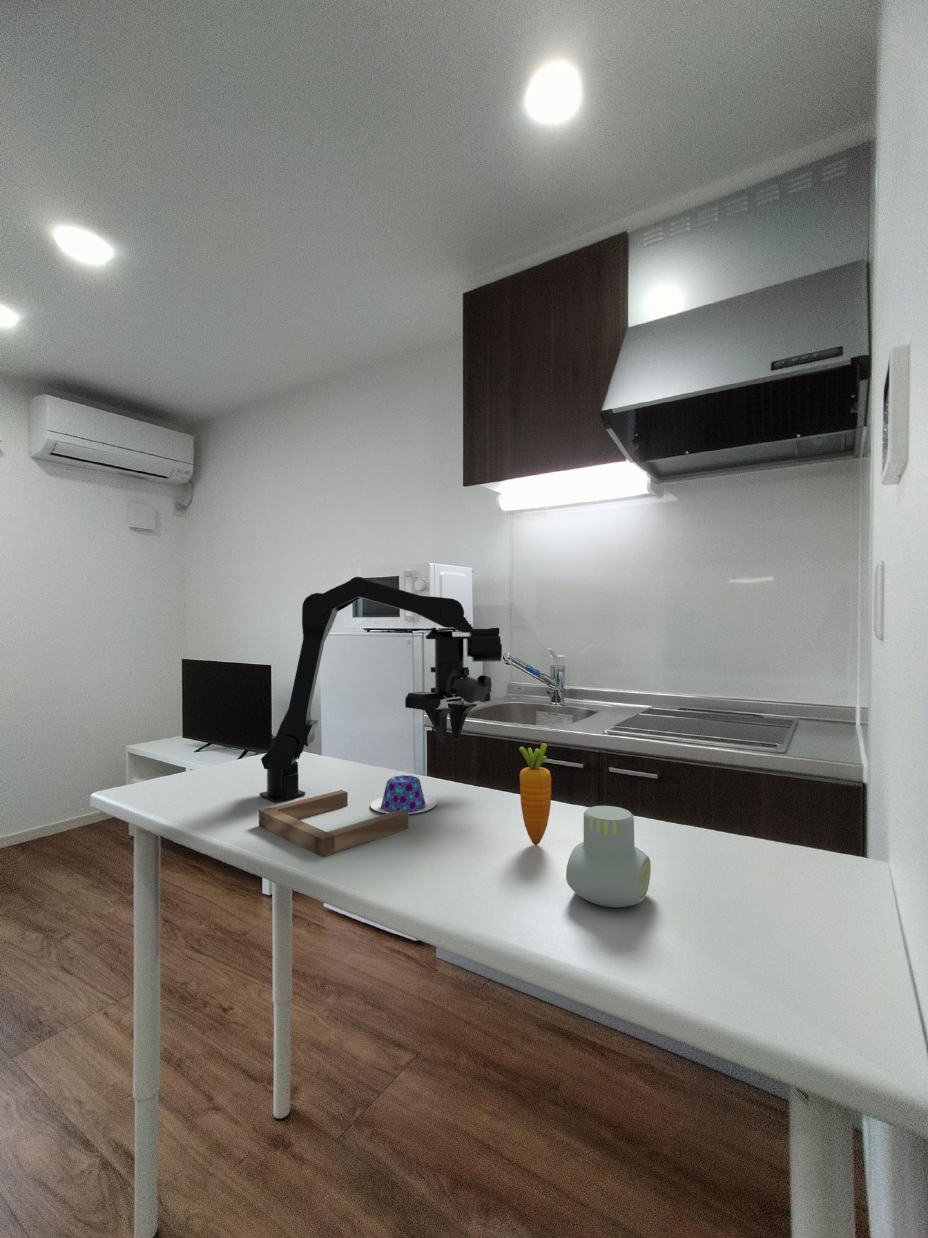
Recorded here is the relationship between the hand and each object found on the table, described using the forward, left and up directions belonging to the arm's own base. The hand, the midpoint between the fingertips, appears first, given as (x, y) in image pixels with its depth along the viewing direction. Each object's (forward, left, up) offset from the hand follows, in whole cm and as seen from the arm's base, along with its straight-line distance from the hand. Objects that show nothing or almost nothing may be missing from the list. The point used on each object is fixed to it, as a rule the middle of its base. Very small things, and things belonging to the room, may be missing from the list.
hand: (449, 741), depth 112 cm
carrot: (+29, -11, -10) cm, 33 cm away
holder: (0, -26, -10) cm, 28 cm away
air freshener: (+45, -18, -10) cm, 50 cm away
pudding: (0, -12, -11) cm, 16 cm away
